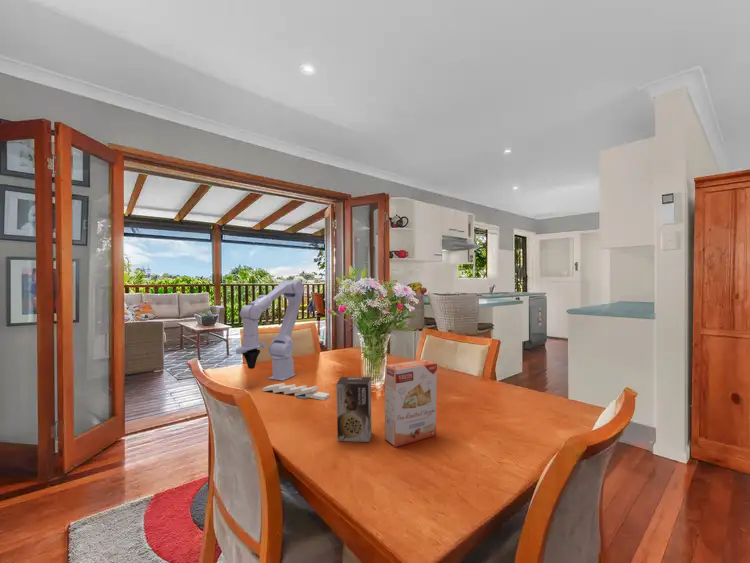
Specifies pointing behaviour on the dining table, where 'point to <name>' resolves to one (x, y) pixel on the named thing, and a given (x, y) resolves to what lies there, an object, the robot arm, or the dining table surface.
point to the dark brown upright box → (354, 409)
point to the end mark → (302, 396)
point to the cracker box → (410, 401)
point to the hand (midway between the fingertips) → (251, 368)
